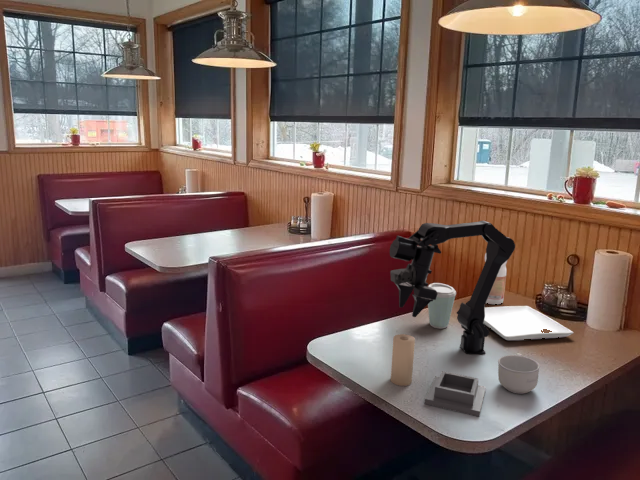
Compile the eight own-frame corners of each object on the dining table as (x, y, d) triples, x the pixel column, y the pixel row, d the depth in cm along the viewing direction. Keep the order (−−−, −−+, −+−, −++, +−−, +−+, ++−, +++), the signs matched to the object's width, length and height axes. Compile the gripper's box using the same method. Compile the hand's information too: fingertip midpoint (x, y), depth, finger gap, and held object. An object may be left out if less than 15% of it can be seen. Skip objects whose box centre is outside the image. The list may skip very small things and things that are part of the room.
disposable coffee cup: (458, 325, 193) (462, 286, 189) (444, 333, 185) (447, 293, 182) (432, 318, 200) (436, 280, 196) (418, 325, 192) (421, 286, 188)
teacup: (532, 402, 141) (535, 374, 139) (491, 390, 146) (494, 364, 145) (541, 381, 152) (544, 356, 151) (503, 371, 158) (506, 347, 156)
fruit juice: (495, 306, 215) (502, 240, 208) (475, 300, 222) (481, 235, 215) (507, 302, 220) (515, 237, 214) (488, 296, 227) (494, 233, 221)
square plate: (505, 346, 177) (506, 335, 176) (464, 317, 203) (465, 307, 202) (573, 341, 183) (575, 330, 182) (526, 313, 209) (527, 304, 208)
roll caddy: (434, 380, 151) (436, 366, 150) (485, 391, 145) (487, 377, 144) (424, 403, 138) (425, 388, 137) (479, 416, 133) (481, 400, 132)
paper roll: (408, 375, 153) (411, 333, 150) (414, 385, 148) (417, 342, 145) (388, 375, 153) (391, 334, 150) (393, 386, 147) (396, 342, 144)
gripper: (385, 252, 167) (372, 298, 169) (411, 266, 149) (396, 318, 151) (415, 258, 170) (402, 304, 172) (444, 273, 153) (430, 323, 155)
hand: (407, 311), depth 162 cm, fingers open, 9 cm apart
